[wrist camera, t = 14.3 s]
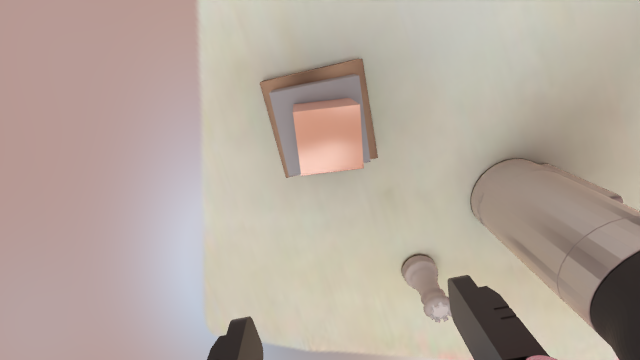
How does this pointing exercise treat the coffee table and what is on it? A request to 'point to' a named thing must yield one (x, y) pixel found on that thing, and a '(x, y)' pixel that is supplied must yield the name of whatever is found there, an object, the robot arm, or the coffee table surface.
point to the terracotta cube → (328, 136)
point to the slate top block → (312, 93)
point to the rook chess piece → (427, 286)
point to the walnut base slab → (314, 76)
